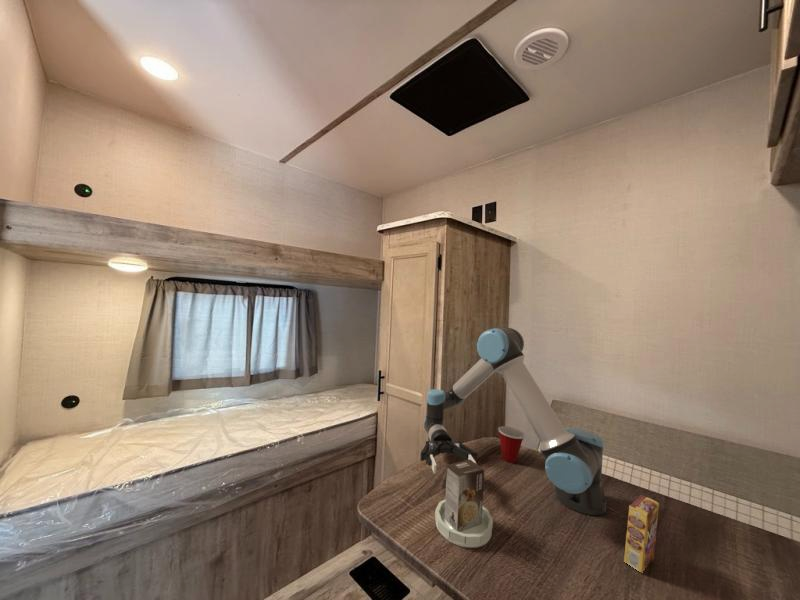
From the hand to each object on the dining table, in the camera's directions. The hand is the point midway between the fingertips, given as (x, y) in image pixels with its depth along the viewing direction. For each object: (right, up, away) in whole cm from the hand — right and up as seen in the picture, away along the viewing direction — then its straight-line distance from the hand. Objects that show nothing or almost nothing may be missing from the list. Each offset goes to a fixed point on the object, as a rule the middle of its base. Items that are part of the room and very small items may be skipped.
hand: (455, 469), depth 97 cm
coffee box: (0, -10, -9) cm, 14 cm away
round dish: (0, -11, -9) cm, 14 cm away
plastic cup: (+28, -13, +30) cm, 43 cm away
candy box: (+45, -14, -19) cm, 50 cm away
